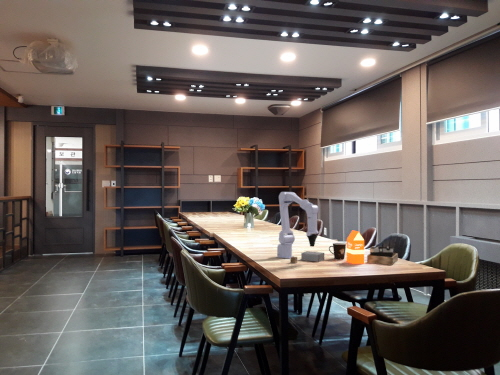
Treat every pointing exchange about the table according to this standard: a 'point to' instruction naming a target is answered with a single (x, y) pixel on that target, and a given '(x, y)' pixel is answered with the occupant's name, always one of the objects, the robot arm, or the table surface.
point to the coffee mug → (338, 250)
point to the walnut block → (293, 260)
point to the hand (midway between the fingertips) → (312, 246)
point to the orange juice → (355, 248)
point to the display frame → (383, 259)
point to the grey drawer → (309, 257)
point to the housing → (320, 255)
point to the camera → (381, 251)
